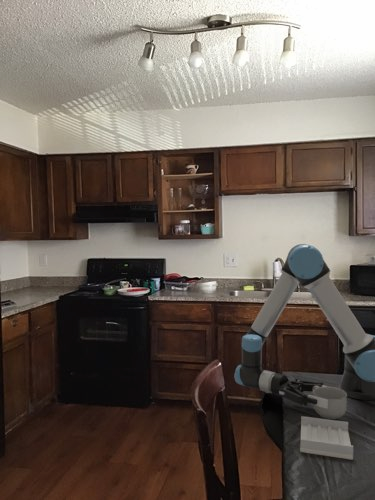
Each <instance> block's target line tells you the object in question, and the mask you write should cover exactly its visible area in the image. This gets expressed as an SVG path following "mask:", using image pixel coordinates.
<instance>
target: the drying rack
mask: <svg viewBox="0 0 375 500" xmlns="http://www.w3.org/2000/svg"><path fill="white" fill-rule="evenodd" d="M300 421H301V422H300V426H301V427H300V447H299V451H300V453H307V454H311V455H312V454H313V455H318V456H325V457H333V458H338V459H339V458H340V459H346V460H354V445H352V444H351V439H350V434H349V422H348V421H343V420H337V419H327V418H319V417H313V416H312V417H311V416H302V415H301V418H300Z"/></svg>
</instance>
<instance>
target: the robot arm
mask: <svg viewBox="0 0 375 500" xmlns="http://www.w3.org/2000/svg"><path fill="white" fill-rule="evenodd" d="M280 271H281V275H280V276H279V278H278V279H277V281H276V283H275V285H274V287H273V288H272V290H271V292H270V293H269V295H268V297H267V299H265V300H266V301H265V302H264V304H263V305H262V307H261V309H260V311H259V312H258V314H257V316H256V318H255V319H254V321H253V323H252V325H251V327H250V328H249V330H248V332H247V333H246V334H245V335H243V336H242V337H241V364H239V365H237V367H236V368H235V372H234V374H233V376H234V380H235V382H236V384H238V385H240V386H242V387H243V386H244V387H245V388H250V389H254V390H257V391H262V392H265V393H266V394H272V395H275V396H279V397H282V398H285V399H287V400H289V401H292V402H294V403H296V404H298V405H301V406H302V405H303V406H304V407H307V406H308V404H309V405H313V406H314V405H315V406H319V407H323V408H326V409H328V400H327V399H323V398H320V397H316V396H313V394H312V395H311V394H308V395H307V394H305V393H304V392H310V393H311V392H312V388H313V387H314V386H319V387H329V386H328V385H324V382H323V381H312V380H305V379H299V378H294V379H295V380H289V378H288V376H287V375H286V374H282V373H278V372H277V373H276V372H274V371H270V370H266V369H263V368H262V366H263V365H262V361H263V360H262V358H263V352H262V351H263V345H264V343H265V342H266V340H267V338H268V336H269V335H270V333H271V331H272V330H273V328H274V326H275V325H276V323H277V322H278V319H279V318H280V316H281V314H282V313H283V310H284V309H285V308H286V306H287V304H288V302H289V301H290V299H291V297H292V296H293V294H294V292H295V291H296V290H297V287H298V286H299V285H300V286H301V287H302V288H305V289H307V290H308V291H309V292H310V294H311V295H312V297H313V298H314V300H315V302H316V303H317V305H318V306H319V308H320V310H321V312H323V314H324V316H325V318H326V319H327V321H328V322H329V324H330V325H331V327H332V328H333V330H334V331H335V333H336V335H337V336H338V338H339V339H340V341H341V342H342V344H343V347H342V352H343V353H344V368H343V369H344V371H343V374H342V377H341V380H340V382H339V384H338V388H339V389H341V390H343V391H345V392H346V393H347V397H348V398H352V399H356V400H360V401H361V400H362V401H374V400H375V335H373V334H369V333H366V332H365V330H364V329H363V327H362V326H361V324H360V322H359V321H358V319H357V317H356V316H355V314H354V313H353V312H352V310H351V308H350V307H349V305H348V303H347V302H346V301H345V299H344V297H343V296H342V295H341V293H340V291H339V290H338V288H337V286H336V285H335V284H334V282H333V281H332V279H331V277H330V275H331V270H330V268H329V266H328V264H327V263H326V261H325V260H324V257H323V254H322V253H321V251H320V250H319V249H318V248H316V247H315V246H313V245H310V244H306V243H302V244H301V243H300V244H296V245H294V246H293V247H292V248H291V249H290V250H289V252H288V253H287V257H286V259H285V261H284V263H283V265H282V267H281V269H280ZM312 393H313V392H312Z"/></svg>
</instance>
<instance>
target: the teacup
mask: <svg viewBox="0 0 375 500" xmlns="http://www.w3.org/2000/svg"><path fill="white" fill-rule="evenodd" d="M312 396H316V397H320V398H323V399H327V400H328V409H326V408H323V407H319V406H315V405H313V409H314V411H315V413H317V414H318V415H320V417H322V418H323V419H328V420H337V419H340V418H341V417H342V416H344V415H345V413H346V411H347V403H348V400H347V397H348V396H347V393H346V392H345V391H343V390H341V389H339V387H333V386H328V387H319V386H314V387H313V388H312Z"/></svg>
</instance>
